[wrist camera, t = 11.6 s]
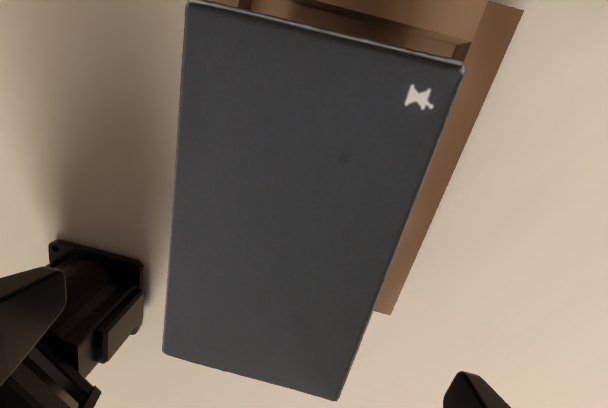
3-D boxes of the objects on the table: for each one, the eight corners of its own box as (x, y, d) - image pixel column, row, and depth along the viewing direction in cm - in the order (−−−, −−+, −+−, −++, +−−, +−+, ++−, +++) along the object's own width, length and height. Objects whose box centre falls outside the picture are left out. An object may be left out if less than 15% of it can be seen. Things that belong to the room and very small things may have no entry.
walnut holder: (194, 238, 21) (176, 259, 19) (231, -49, 15) (211, -72, 13) (384, 288, 21) (390, 315, 19) (495, 20, 15) (523, 10, 13)
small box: (270, 36, 16) (167, -25, 6) (398, 67, 16) (490, 53, 6) (240, 223, 20) (148, 361, 10) (342, 248, 20) (346, 411, 10)
